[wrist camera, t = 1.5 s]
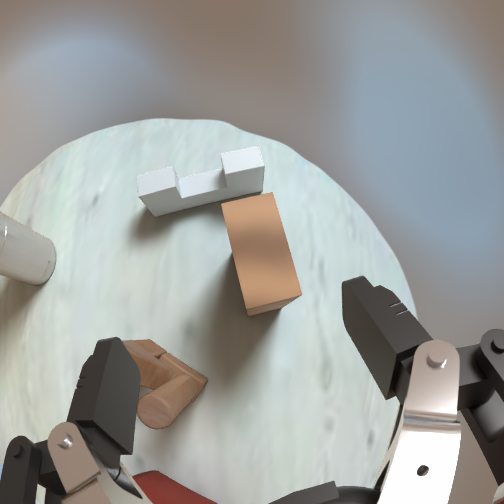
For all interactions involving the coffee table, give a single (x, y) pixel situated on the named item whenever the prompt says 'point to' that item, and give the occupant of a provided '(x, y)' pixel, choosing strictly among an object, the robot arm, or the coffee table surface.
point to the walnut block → (261, 253)
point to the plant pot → (167, 490)
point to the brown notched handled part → (163, 383)
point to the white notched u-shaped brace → (202, 183)
